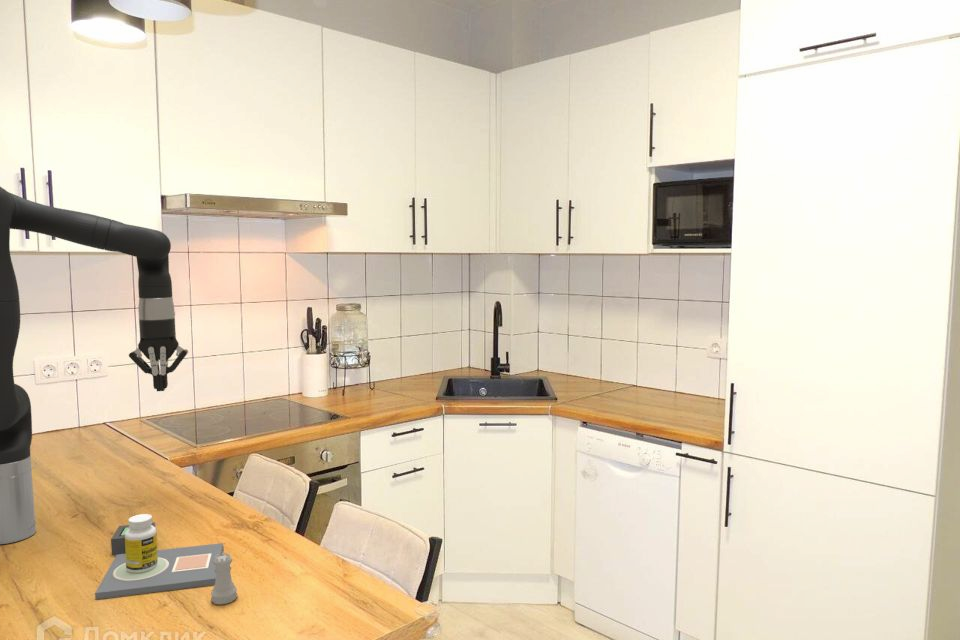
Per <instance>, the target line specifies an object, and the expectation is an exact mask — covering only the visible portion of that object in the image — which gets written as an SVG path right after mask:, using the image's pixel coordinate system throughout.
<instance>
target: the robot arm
mask: <svg viewBox="0 0 960 640" xmlns="http://www.w3.org/2000/svg"><path fill="white" fill-rule="evenodd" d="M11 230H18V231H20V230H21V231H25V232H32V233H37V234H41V235H46V236H50V237H54V238H56V239H57V238H58V239H61V240H64V241H67V242H69V243H74V244H78V245H82V246H85V247H90V248H93V249H97V250H102V251H103V250H104V251H107V252H117V253H121V254H123V255H124V254H125V255H128V256H132V257H136V263H137V272H138V278H137V279H138V281H137V283H138V286H137V287H138V298H139V299H138V306H137V307H138V308H137V309H138V311H137V312H138V323H139V324H138V325H139V326H138V327H139V342H138V344H137V347H136V349H135V350H133V351H132V352H130V353H128V357H129V358H130V359H131V360H132V361H133V362H134V363H135V364H136V366H137V367H138V368H139V369H140V370H141V371H142V372H143V373H145V374H149V375H151V376H152V381H153V383H152V385H153V389H154V390H156V392H164V391H165V390H166V389H167V388H168V386H169V384H168V383H169V382H168V374H170V373H173V372H175V370H176V369H177V368H178V366H179V365H180V364H181V362H182V361H183V360H184V359H185V357H186V356H187V355H188V353H189V350H188V349H184V348H183V347H182V346H180V344H179V341H178V340H177V335H176V319H175V318H176V311H175V304H174V297H173V284H172V277H171V274H170V261H169V259H170V258H169V253H170V252H171V247H172V245H171V240H170V238H169V237H168V236H167V235H166V234H165V233H164V232H162V231H160V230H157V229H153V228H148V227H143V226H137V225H134V224H129V223H128V224H127V223H124V222H121V221H119V220H114V219H111V218H107V217H103V216H100V215H96V214H92V213H85V212H83V211H82V212H81V211H76V210H70V209H65V208H58V207H54V206H50V205H45V204H42V203H38V202H35V201H32V200H29V199H26V198H24V197H21V196H20V195H19V196H18V195H16V194H15V193H11V192H9V191H7V190H6V188H3V187H2V186H0V545H5V544H6V545H7V544H11V543H16V542H19V541H22V540H26V539H28V538H30V537H31V536H33V535H34V534H35V533H36V530H37V529H36V528H37V527H36V524H37V523H36V515H35V514H36V511H35V510H36V509H35V498H34V486H33V485H34V484H33V471H32V470H33V469H32V457H31V445H32V440H33V424H32V423H33V419H32V405H31V399H30V396H29V394H28V392H27V391H26V390H25V388H24V387H22V386H21V385H19V384H17V383H15V377H14V358H15V357H14V356H15V352H16V348H17V343H18V339H19V334H20V330H21V329H20V328H21V306H20V305H21V303H20V293H19V292H20V291H19V286H18V281H17V276H16V272H15V269H14V265H13V260H12V257H11V250H10V249H11V248H10V239H11V238H10V236H11V235H10V234H11ZM175 352H176V353H175ZM174 353H175V356H176V358H175V360H174V361H173V362H172V363H171V365H170V366H169V359H170V358H171V357H172V356H173V355H174ZM143 355H144V357H146V359H147V360H149V363H150V365H149V364H148V363H147V362H146V360H144V359H143V358H142V357H143Z"/></svg>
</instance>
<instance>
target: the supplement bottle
mask: <svg viewBox="0 0 960 640" xmlns="http://www.w3.org/2000/svg"><path fill="white" fill-rule="evenodd" d="M152 523H153V516H152V514H149V513H141V514H136V515H134V516H131V517H129V518H128V525H129V528H130V529H128V530H127V531H126V533H125V552H126V569H127V571H129V572H131V573H142V572H146V571H149V570H151V569H153V568H154V567H156V565H157V561H158V560H157V550H158V539H157V538H158V536H157V533H158V532H157V528H156V526H155V527H154V526H152V525H151V524H152Z"/></svg>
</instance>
